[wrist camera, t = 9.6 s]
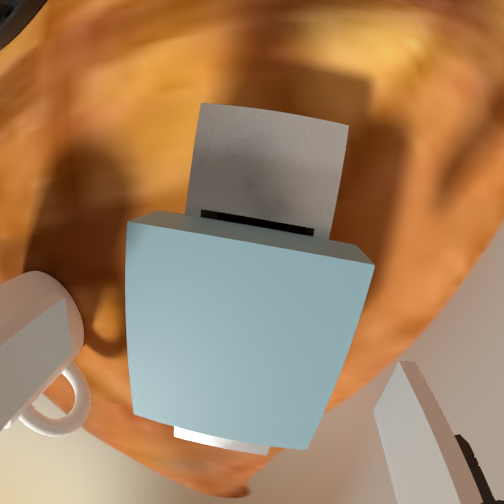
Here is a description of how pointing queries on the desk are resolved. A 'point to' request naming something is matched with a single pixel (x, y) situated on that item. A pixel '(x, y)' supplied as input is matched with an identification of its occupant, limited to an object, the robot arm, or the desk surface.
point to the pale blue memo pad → (238, 325)
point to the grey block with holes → (264, 181)
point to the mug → (17, 301)
